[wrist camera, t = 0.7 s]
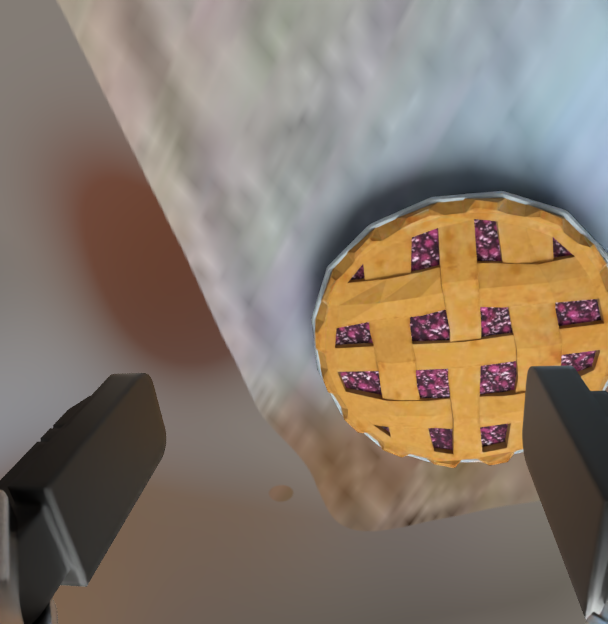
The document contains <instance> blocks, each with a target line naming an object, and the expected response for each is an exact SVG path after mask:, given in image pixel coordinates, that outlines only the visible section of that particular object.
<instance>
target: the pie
mask: <svg viewBox="0 0 608 624" xmlns="http://www.w3.org/2000/svg"><path fill="white" fill-rule="evenodd" d="M311 321H312V329H313V337H314V346H315V354H316V363H317V370H318V372H319V374H320V375H321V377H322V379H323V381H324V383H325V385H326V388H327V390H328V392H329V393H330V394H331V396H332V398H333V400H334V402H335V404H336V406H337V407H338V409H339V411H340V413H341V414H342V415H343V417H344V420H345V421H347V422H348V423H349V424H350V425H351V426H352V427H353V428H354V429H355V430H356V431H357V432H358V433H364V434H366V435H367V436H368V437H369V438H370V439H371V440H373V441H374V442H375V443H376V444H377V445H378V446H381V447H382V449H383V450H384V451H387V452H389V453H392V454H394V455H397V456H399V457H404V456H406V455H409V456H412V457H415V458H418V459H421V460H424V461H428V462H432V463H433V464H435V465H440V466H446V467H451V468H455V467H456V466H457V465H458V464H459V462H484V463H486V464H488V465H494V464H499V463H505V462H508V461H509V459H510V458H511V457H512V455H513V454H517V453H520V452H524V451H523V442H522V428H523V416H524V403H525V391H526V379H527V372H528V369H529V368H530V367H531V366H567V365H571V366H573V367H574V368H575V369H576V371H577V372H578V374H579V375H580V376H581V378H582V379H583V381H584V382H585V384H586V385H587V387H588V388H589V390H590V391H604V390H605V389H606V387H607V386H608V253H607V252H606V251H605V250H604V249H603V248H602V247H601V246H600V245H599V244H598V243H597V242H596V241H595V239H594V238H593V237H592V236H591V235H590V234H589V233H588V232H587V231H586V230H585V229H584V228H583V227H582V226H581V225H580V224H579V223H578V222H577V221H576V220H575V218H574V217H573V216H572V215H571V214H570V213H569V212H568V211H567V210H564V209H560V208H557V207H554V206H550V205H547V204H544V203H541V202H537V201H534V200H531V199H528V198H524V197H521V196H518V195H514V194H511V193H508V192H505V191H495V192H483V193H471V194H460V195H448V196H436V197H430V198H428V199H426V200H423V201H421V202H419V203H417V204H414V205H412V206H410V207H407V208H405V209H403V210H401V211H398V212H396V213H394V214H392V215H389V216H387V217H385V218H382V219H380V220H378V221H376V222H373V223H371V224H369V225H368V226H367V227H366V228H365V229H364V230H363V231H362V232H361V233H360V234H359V235H358V236H357V237H356V238H355V239H354V240H353V241H352V242H351V243H350V244H349V245H348V246H347V247H346V248H345V249H344V250H343V251H342V252H341V253H340V254H339V255H338V256H337V258H336V259H335V260H334V261H333V262H332V263H331V264H330V265H329V266H328V267H327V269H326V272H325V276H324V279H323V282H322V285H321V288H320V292H319V295H318V298H317V301H316V304H315V308H314V311H313V314H312V317H311Z"/></svg>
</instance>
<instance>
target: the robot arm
mask: <svg viewBox="0 0 608 624" xmlns="http://www.w3.org/2000/svg"><path fill="white" fill-rule="evenodd" d="M522 442H523V451H524V456H525V460H526V463H527V466H528V469H529V472H530V474H531V477H532V479H533V482H534V485H535V487H536V490H537V493H538V495H539V498H540V501H541V503H542V506H543V508H544V511H545V514H546V516H547V519H548V522H549V524H550V527H551V530H552V532H553V535H554V537H555V540H556V542H557V545H558V548H559V550H560V553H561V556H562V558H563V561H564V564H565V566H566V569H567V571H568V574H569V577H570V579H571V582H572V585H573V587H574V590H575V592H576V595H577V598H578V601H579V603H580V606H581V608H582V611H583V614H584V616H585V618H586V619H587V620H586V622H585V623H584V624H608V392H606V391H590V390H589V388H588V387H587V385H586V384H585V382H584V381H583V379H582V378H581V376H580V375H579V374H578V372H577V371H576V369H575V368H574V367H573V366H571V365H567V366H531V367H530V368H529V369H528V372H527V379H526V391H525V403H524V416H523V428H522ZM165 446H166V431H165V426H164V423H163V419H162V415H161V411H160V407H159V404H158V400H157V397H156V392H155V389H154V385H153V382H152V379H151V377H150V376H149V375H148V374H146V373H129V374H128V373H127V374H112V375H110V376H109V377H108V378H107V379H106V380H105V381H104V383H103V384H102V385H101V386H100V387H99V388H98V389H97V390H96V391H95V392H94V393H93V394H92V395H91V396H89V397H87V398H86V399H84V400H83V401H81V402H80V403H78V404H76V405H75V406H73V407H72V408H70V409H69V410H67V412H66V413H65V414H64V415H63V416H62V417H61V418H60V419H59V420H58V421H57V422H56V423H55V424H54V425H53V429H51V428H50V429H49V430H48V431H47V432H46V434H45V435H43V437H41V442H37V443H36V444H35V445H34V446H33V447H32V448H31V449H30V450H29V451H28V452H27V453H26V454H25V455H24V456H23V457H22V458H21V459H20V461H19V462H17V464H16V465H15V466H14V467H13V468H12V469H11V470H10V471H9V472H8V473H7V474H6V475H5V476H4V477H3V478H2V479H1V480H0V624H58V615H57V608H56V604H55V602H54V600H53V598H52V597H53V595H54V593H55V592H56V591H57V589H58V588H59V586H60V585H70V586H87V585H88V583H89V582H90V580H91V578H92V576H93V575H94V573H95V571H96V570H97V568H98V566H99V565H100V563H101V561H102V559H103V558H104V556H105V554H106V553H107V551H108V549H109V547H110V546H111V544H112V542H113V541H114V539H115V537H116V536H117V534H118V532H119V530H120V529H121V527H122V525H123V524H124V522H125V520H126V519H127V517H128V515H129V513H130V512H131V510H132V508H133V506H134V505H135V503H136V501H137V500H138V498H139V496H140V495H141V493H142V491H143V489H144V488H145V486H146V485H147V483H148V481H149V479H150V478H151V476H152V474H153V473H154V471H155V469H156V468H157V466H158V464H159V462H160V461H161V459H162V457H163V454H164V451H165Z"/></svg>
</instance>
